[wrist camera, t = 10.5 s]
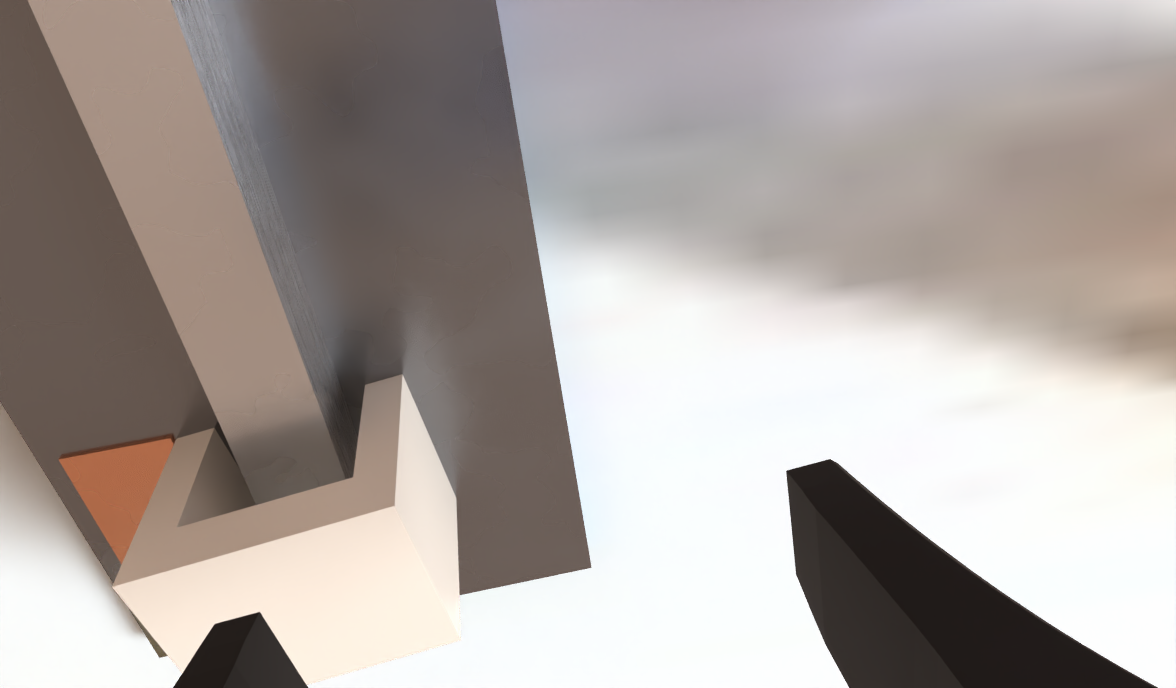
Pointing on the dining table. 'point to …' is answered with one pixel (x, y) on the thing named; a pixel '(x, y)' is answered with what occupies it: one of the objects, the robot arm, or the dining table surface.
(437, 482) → the u clip
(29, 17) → the rack
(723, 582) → the dining table surface
